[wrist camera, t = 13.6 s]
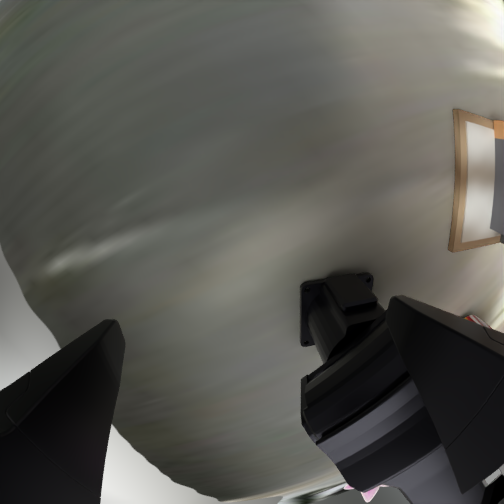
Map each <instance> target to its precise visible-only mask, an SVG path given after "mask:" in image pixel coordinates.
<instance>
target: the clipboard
mask: <svg viewBox="0 0 504 504" xmlns="http://www.w3.org/2000/svg"><path fill="white" fill-rule="evenodd" d="M453 117H454V131H455V190H454V204H453V215H452V224H451V232H450V239H449V246H448V250H449V251H451V252H458V251H463V250H468V249H472V248H477V247H482V246H486V245H491V244H495V243H500V236H501V234H500V233H498V232H496V231H494V230H492V229H490V223H491V215H492V207H493V196H494V181H495V136H494V121H491V120H489V119H486V118H483V117H481V116H478V115H475V114H472V113H469V112H466V111H463V110H460V109H453Z"/></svg>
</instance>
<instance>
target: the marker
mask: <svg viewBox="0 0 504 504" xmlns="http://www.w3.org/2000/svg"><path fill="white" fill-rule="evenodd" d="M493 121H494V136H495V181H494V196H493V207H492V215H491V223H490V229H492V230H494V231H496V232H498V233H500V234H501V236H500V242H501V243H503V244H504V121H499V120H493Z"/></svg>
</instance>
